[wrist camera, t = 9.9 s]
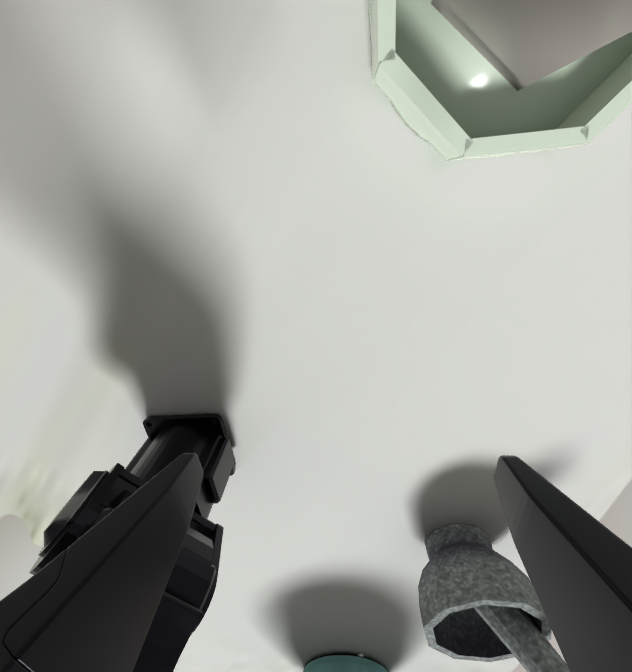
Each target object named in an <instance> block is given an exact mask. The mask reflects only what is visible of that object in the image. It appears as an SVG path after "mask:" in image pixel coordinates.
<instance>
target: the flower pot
mask: <svg viewBox="0 0 632 672" xmlns="http://www.w3.org/2000/svg"><path fill="white" fill-rule="evenodd" d="M303 672H388V671H387V670H386V669H385V668H384V667H383V666H381V665H380V664H378V663H376V662H374V661H372V660H369V659H365V658H362V657H357V656H350V655H331V656H325V657H321V658H318V659H315V660H313V661H311V662H310V663H308V664H307V665H306V666H305V668H304V670H303Z"/></svg>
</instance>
